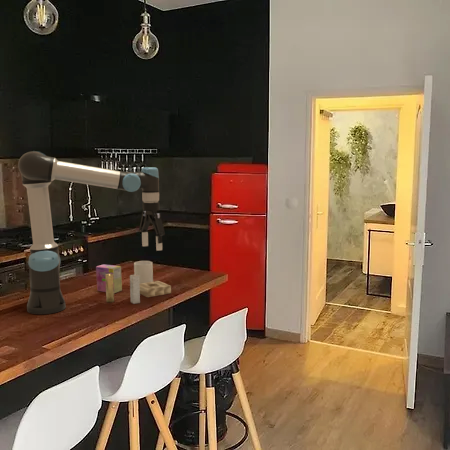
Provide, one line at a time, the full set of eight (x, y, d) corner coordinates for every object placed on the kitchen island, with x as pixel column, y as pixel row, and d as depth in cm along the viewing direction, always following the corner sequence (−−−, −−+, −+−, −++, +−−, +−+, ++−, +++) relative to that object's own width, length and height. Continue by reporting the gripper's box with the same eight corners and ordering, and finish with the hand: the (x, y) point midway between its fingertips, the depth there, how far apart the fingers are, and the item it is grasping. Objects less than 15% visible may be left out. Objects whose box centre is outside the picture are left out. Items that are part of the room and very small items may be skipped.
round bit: (108, 302, 229) (107, 275, 227) (105, 301, 231) (104, 274, 230) (115, 301, 231) (114, 274, 229) (112, 300, 233) (111, 273, 232)
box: (96, 291, 249) (95, 266, 247) (104, 288, 254) (103, 263, 252) (114, 293, 244) (113, 268, 242) (122, 290, 249) (121, 266, 247)
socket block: (147, 297, 237) (147, 289, 237) (135, 291, 247) (135, 284, 246) (171, 293, 244) (170, 285, 244) (158, 287, 254) (158, 280, 253)
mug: (149, 287, 254) (148, 265, 252) (131, 287, 256) (131, 264, 254) (157, 281, 265) (157, 260, 264) (140, 281, 267) (140, 259, 266)
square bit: (133, 303, 227) (132, 276, 226) (130, 302, 230) (129, 275, 228) (140, 302, 229) (139, 275, 227) (136, 301, 231) (136, 274, 230)
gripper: (172, 203, 232) (173, 251, 235) (145, 199, 252) (146, 243, 255) (156, 204, 227) (158, 253, 230) (131, 200, 248) (132, 245, 250)
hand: (152, 248), depth 243 cm, fingers open, 13 cm apart
